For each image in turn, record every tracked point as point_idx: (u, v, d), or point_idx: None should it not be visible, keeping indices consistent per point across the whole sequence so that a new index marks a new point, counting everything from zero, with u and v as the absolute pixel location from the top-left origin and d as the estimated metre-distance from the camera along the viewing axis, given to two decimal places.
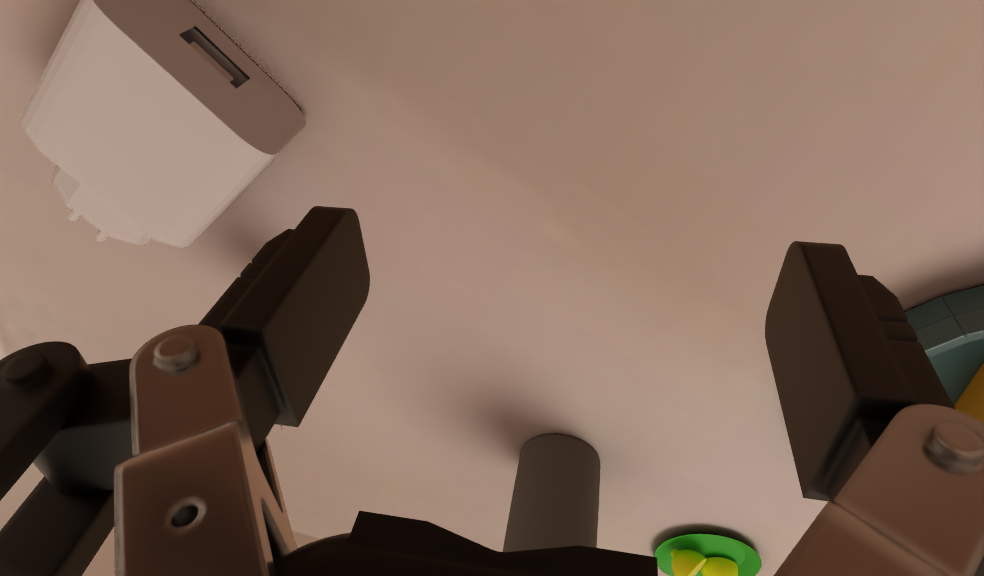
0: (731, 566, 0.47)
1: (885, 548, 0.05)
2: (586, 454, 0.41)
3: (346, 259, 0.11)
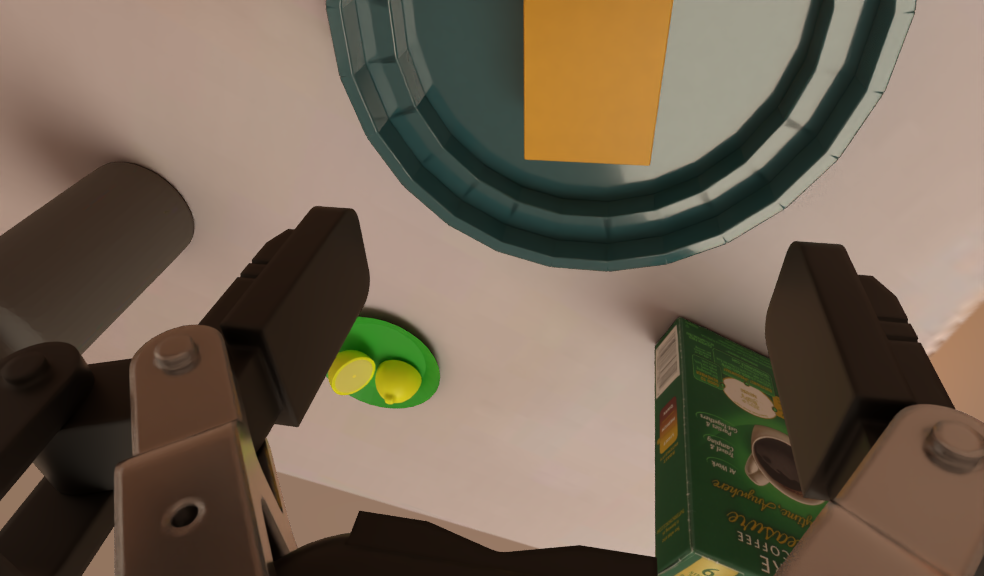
0: (405, 369, 0.37)
1: (885, 548, 0.05)
2: (148, 183, 0.31)
3: (346, 259, 0.11)
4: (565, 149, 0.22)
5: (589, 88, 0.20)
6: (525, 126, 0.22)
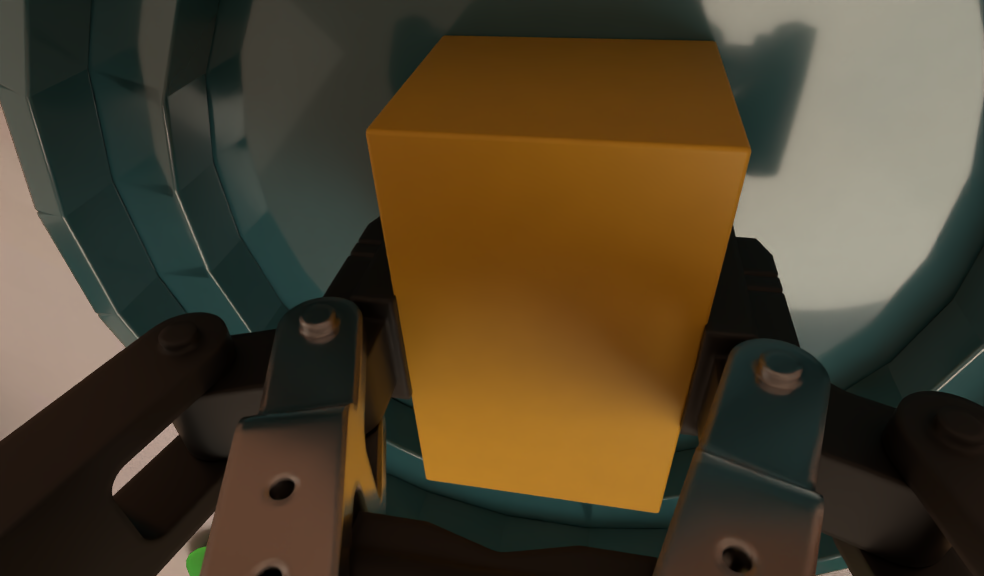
0: None
1: (748, 478, 0.06)
2: None
3: None
4: (499, 476, 0.12)
5: (538, 403, 0.10)
6: (421, 439, 0.11)
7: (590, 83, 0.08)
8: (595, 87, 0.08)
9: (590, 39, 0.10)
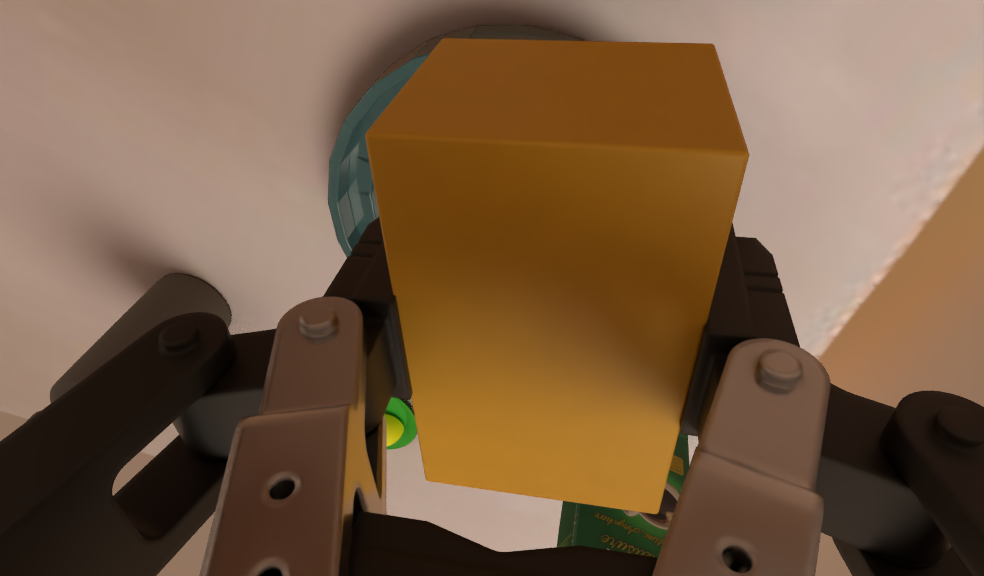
0: (390, 421, 0.48)
1: (748, 478, 0.06)
2: (199, 290, 0.42)
3: None
4: (498, 477, 0.12)
5: (536, 405, 0.10)
6: (420, 441, 0.11)
7: (589, 85, 0.08)
8: (594, 90, 0.08)
9: (589, 42, 0.10)
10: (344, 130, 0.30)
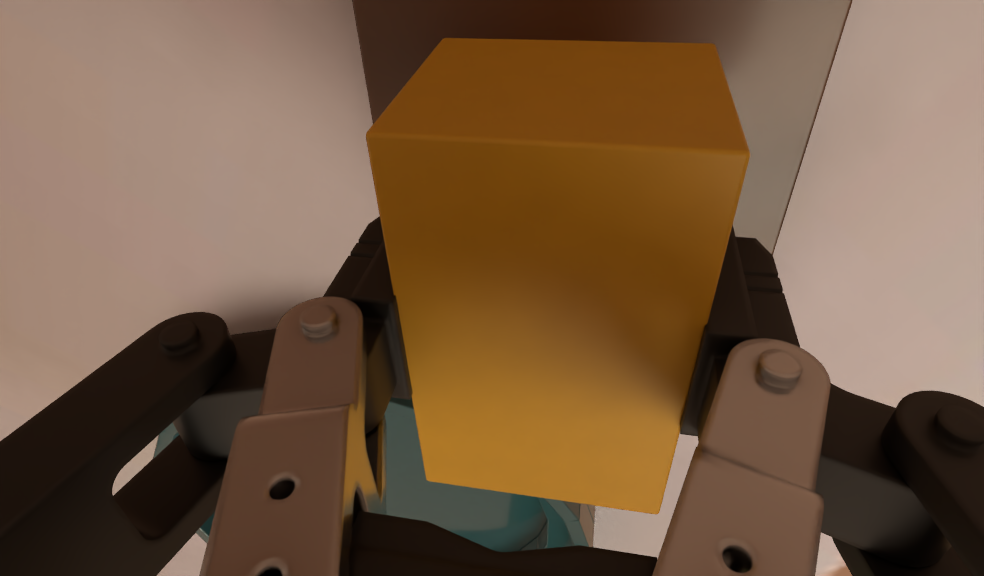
0: None
1: (748, 478, 0.06)
2: None
3: None
4: (499, 477, 0.12)
5: (537, 404, 0.10)
6: (421, 441, 0.11)
7: (590, 85, 0.08)
8: (594, 90, 0.08)
9: (590, 41, 0.10)
10: (162, 437, 0.24)
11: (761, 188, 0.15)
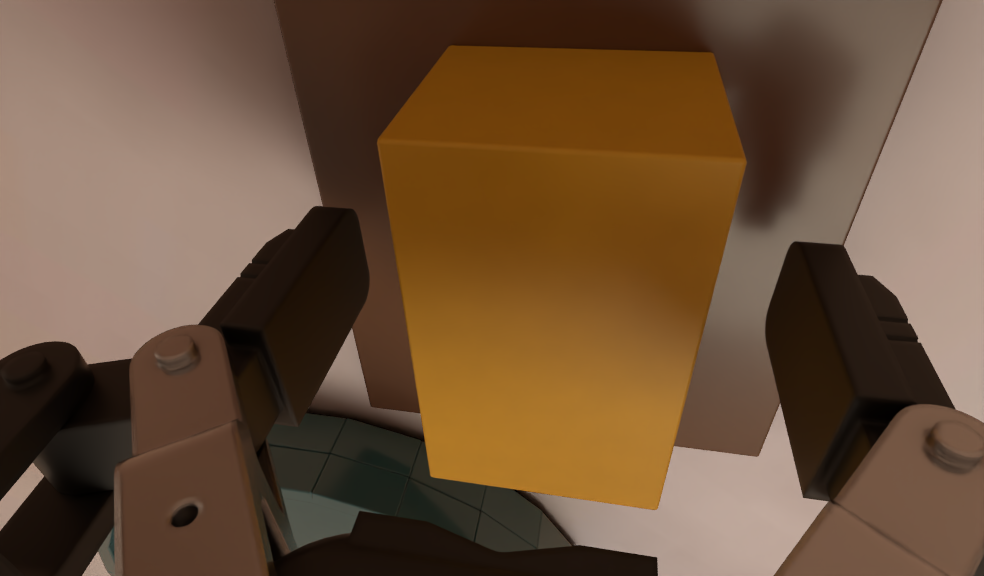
0: None
1: (885, 548, 0.05)
2: None
3: (346, 259, 0.11)
4: (502, 474, 0.12)
5: (540, 403, 0.10)
6: (426, 438, 0.12)
7: (593, 93, 0.09)
8: (597, 98, 0.09)
9: (592, 50, 0.10)
10: None
11: None
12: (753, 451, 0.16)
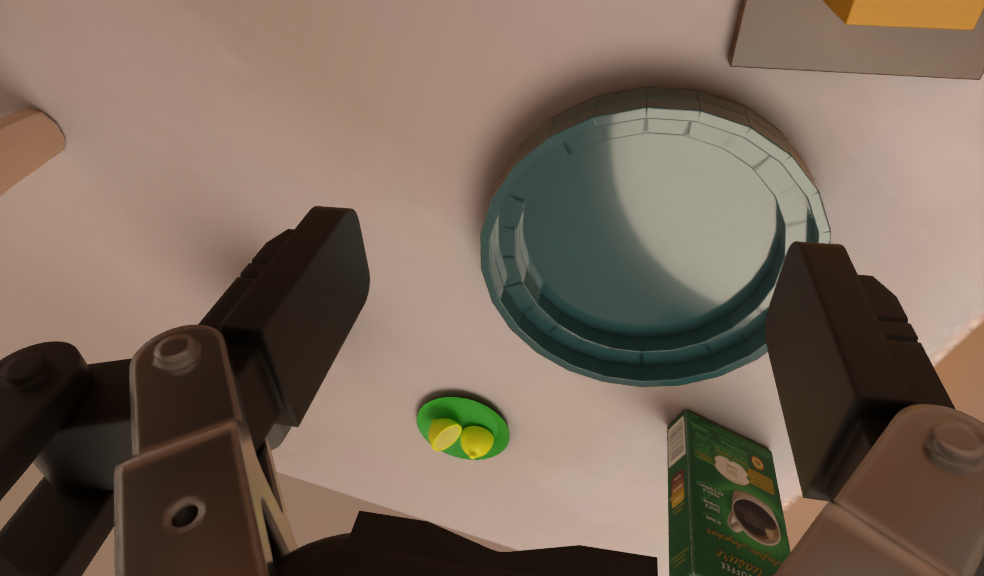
0: (484, 433, 0.50)
1: (885, 548, 0.05)
2: None
3: (346, 259, 0.11)
4: (892, 12, 0.23)
5: None
6: None
7: None
8: None
9: None
10: (512, 174, 0.33)
11: None
12: (978, 74, 0.27)
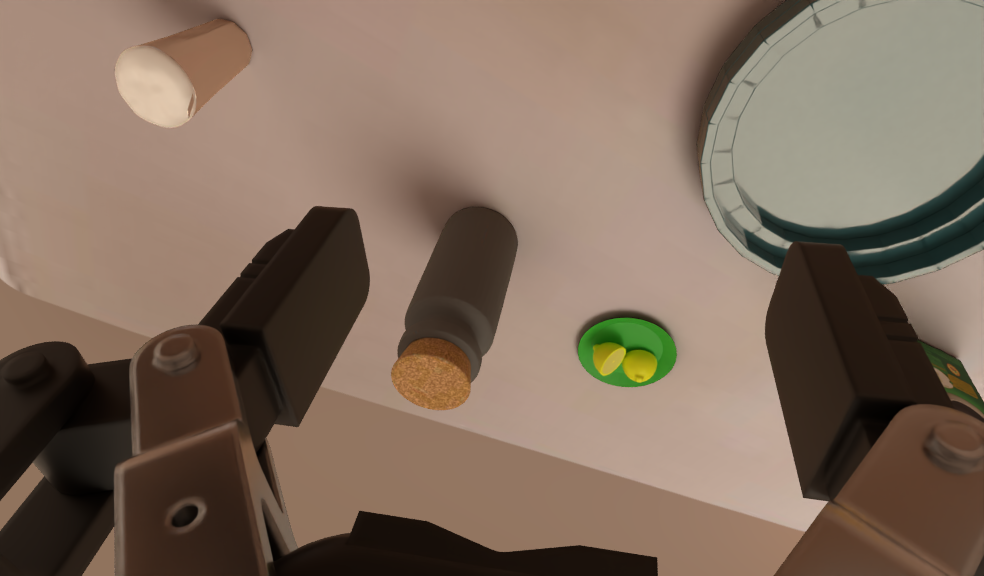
0: (649, 357, 0.49)
1: (885, 548, 0.05)
2: (501, 222, 0.44)
3: (346, 259, 0.11)
4: None
5: None
6: None
7: None
8: None
9: None
10: (759, 50, 0.32)
11: None
12: None
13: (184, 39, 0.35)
